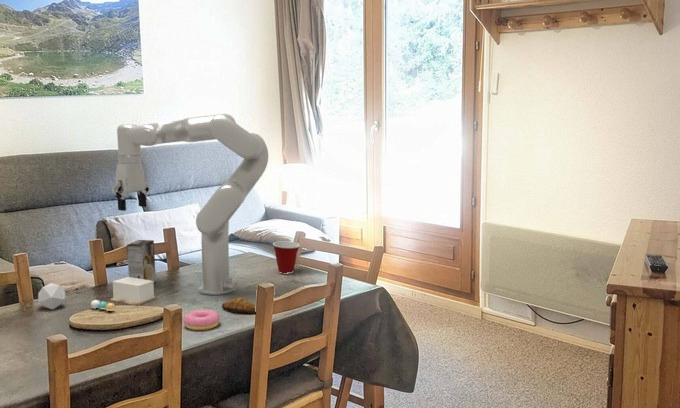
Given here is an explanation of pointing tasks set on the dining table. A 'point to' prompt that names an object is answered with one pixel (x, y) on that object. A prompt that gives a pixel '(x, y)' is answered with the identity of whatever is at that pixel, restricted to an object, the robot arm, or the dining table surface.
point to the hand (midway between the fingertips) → (132, 208)
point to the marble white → (94, 304)
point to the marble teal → (102, 304)
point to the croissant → (239, 305)
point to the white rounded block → (133, 289)
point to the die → (51, 296)
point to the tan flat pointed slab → (132, 302)
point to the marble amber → (110, 306)
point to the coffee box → (141, 260)
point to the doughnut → (201, 319)
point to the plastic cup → (286, 255)
